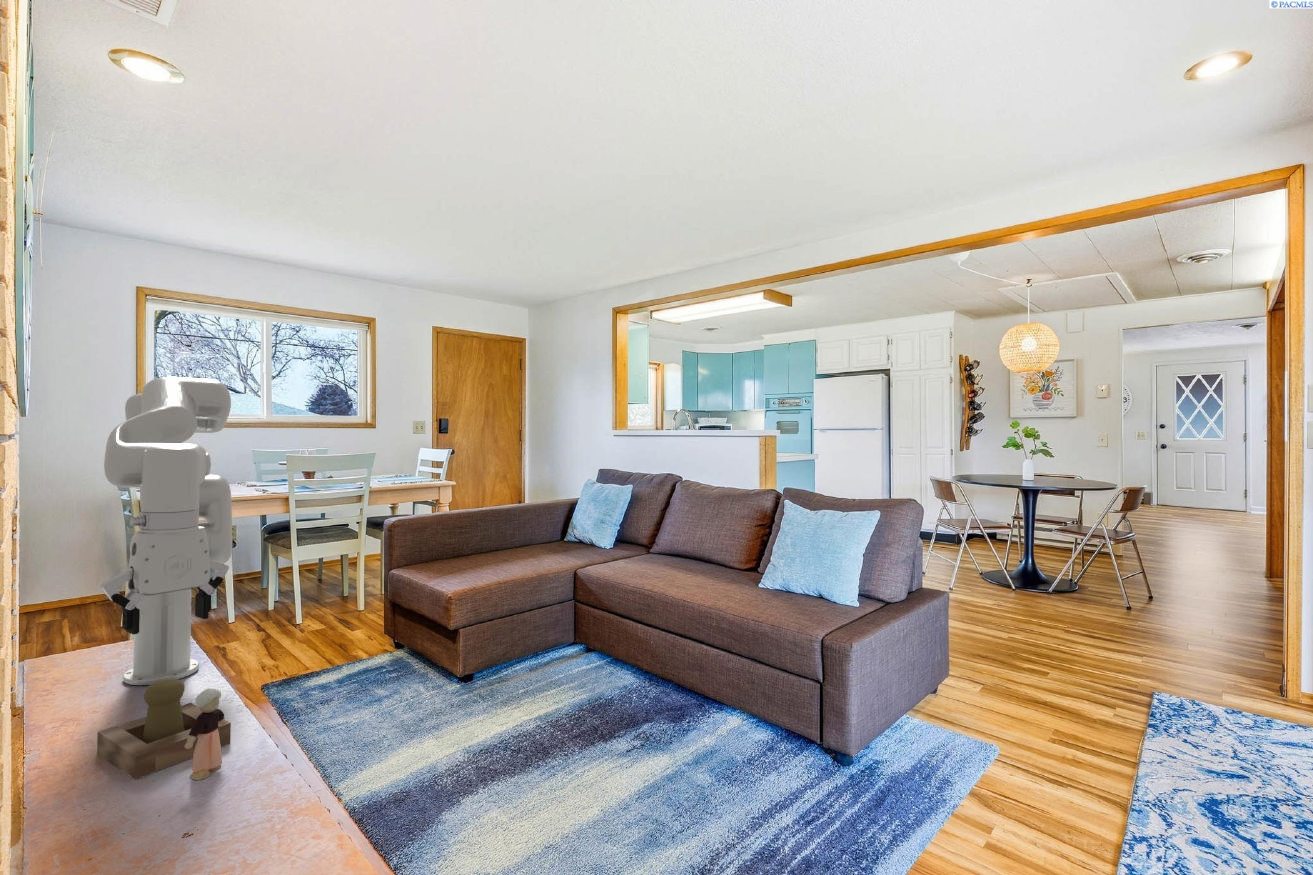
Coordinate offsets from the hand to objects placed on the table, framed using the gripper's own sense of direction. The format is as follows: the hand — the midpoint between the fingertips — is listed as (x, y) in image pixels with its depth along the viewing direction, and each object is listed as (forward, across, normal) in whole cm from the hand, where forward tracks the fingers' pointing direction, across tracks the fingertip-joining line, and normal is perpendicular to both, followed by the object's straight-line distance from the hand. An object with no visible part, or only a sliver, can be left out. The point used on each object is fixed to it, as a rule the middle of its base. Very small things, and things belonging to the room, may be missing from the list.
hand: (168, 624), depth 102 cm
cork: (+20, 0, 0) cm, 21 cm away
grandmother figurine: (+20, 0, -13) cm, 24 cm away
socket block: (+20, 0, 0) cm, 20 cm away
